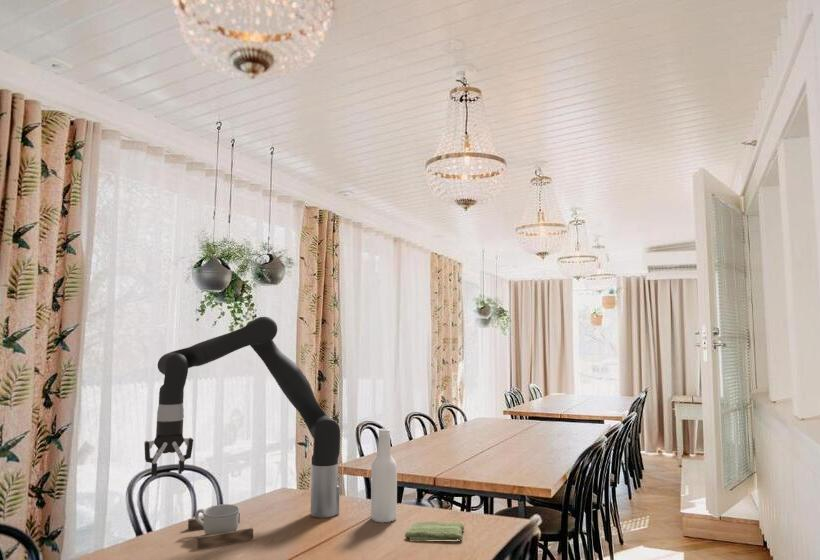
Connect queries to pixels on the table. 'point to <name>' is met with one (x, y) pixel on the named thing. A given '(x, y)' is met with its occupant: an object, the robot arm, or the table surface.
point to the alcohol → (384, 481)
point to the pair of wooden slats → (220, 535)
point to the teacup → (219, 518)
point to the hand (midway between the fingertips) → (167, 474)
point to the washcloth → (435, 531)
